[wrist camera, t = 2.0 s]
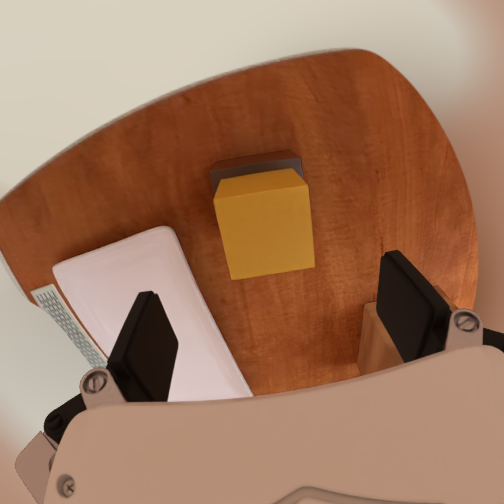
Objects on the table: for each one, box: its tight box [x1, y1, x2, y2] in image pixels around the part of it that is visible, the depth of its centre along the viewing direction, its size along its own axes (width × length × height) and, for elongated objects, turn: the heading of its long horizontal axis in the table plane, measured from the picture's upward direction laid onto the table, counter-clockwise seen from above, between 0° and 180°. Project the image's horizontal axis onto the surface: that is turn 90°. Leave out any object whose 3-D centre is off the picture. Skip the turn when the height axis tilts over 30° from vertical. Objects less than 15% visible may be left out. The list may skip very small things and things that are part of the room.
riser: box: [357, 286, 458, 376], centre depth 27 cm, size 12×12×19 cm
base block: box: [209, 150, 304, 197], centre depth 24 cm, size 7×7×5 cm
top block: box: [213, 168, 315, 280], centre depth 19 cm, size 6×6×6 cm
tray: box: [52, 226, 254, 402], centre depth 33 cm, size 17×32×4 cm, turn 16°
